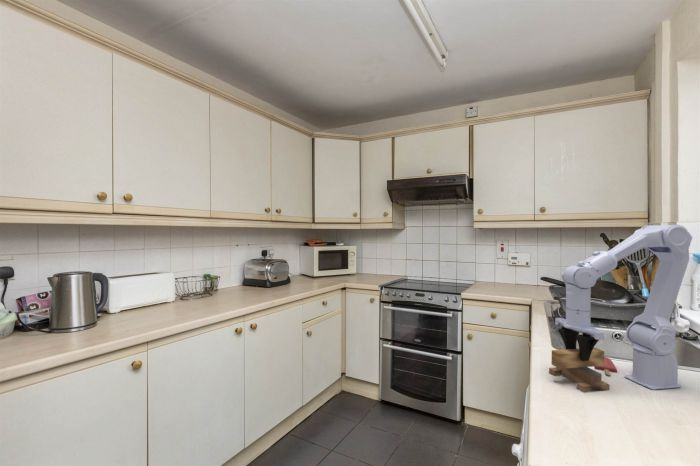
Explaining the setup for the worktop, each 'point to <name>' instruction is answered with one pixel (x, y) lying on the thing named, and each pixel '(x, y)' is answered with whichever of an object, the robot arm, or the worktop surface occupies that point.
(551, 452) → the worktop surface
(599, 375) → the ridge
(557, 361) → the oak bar
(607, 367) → the popsicle
